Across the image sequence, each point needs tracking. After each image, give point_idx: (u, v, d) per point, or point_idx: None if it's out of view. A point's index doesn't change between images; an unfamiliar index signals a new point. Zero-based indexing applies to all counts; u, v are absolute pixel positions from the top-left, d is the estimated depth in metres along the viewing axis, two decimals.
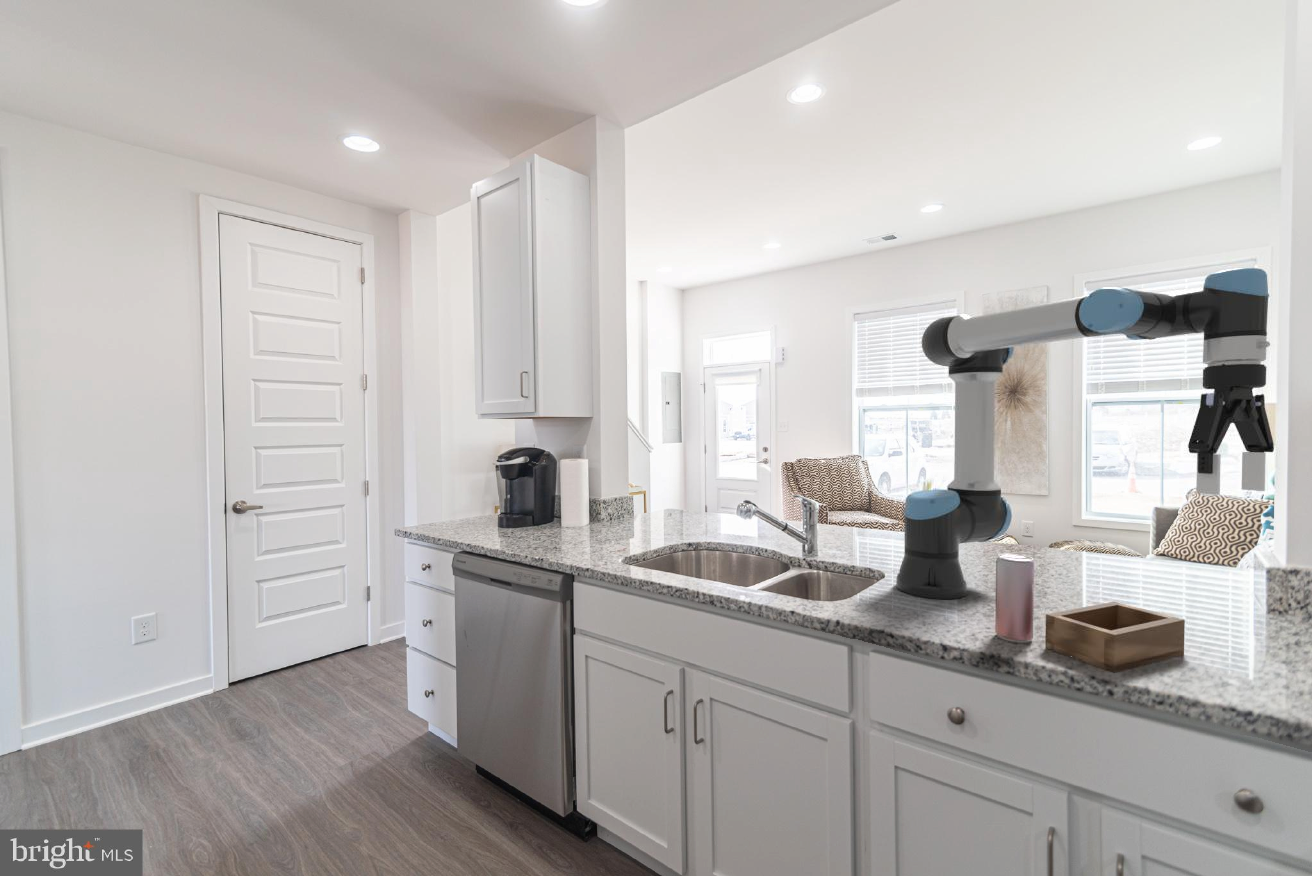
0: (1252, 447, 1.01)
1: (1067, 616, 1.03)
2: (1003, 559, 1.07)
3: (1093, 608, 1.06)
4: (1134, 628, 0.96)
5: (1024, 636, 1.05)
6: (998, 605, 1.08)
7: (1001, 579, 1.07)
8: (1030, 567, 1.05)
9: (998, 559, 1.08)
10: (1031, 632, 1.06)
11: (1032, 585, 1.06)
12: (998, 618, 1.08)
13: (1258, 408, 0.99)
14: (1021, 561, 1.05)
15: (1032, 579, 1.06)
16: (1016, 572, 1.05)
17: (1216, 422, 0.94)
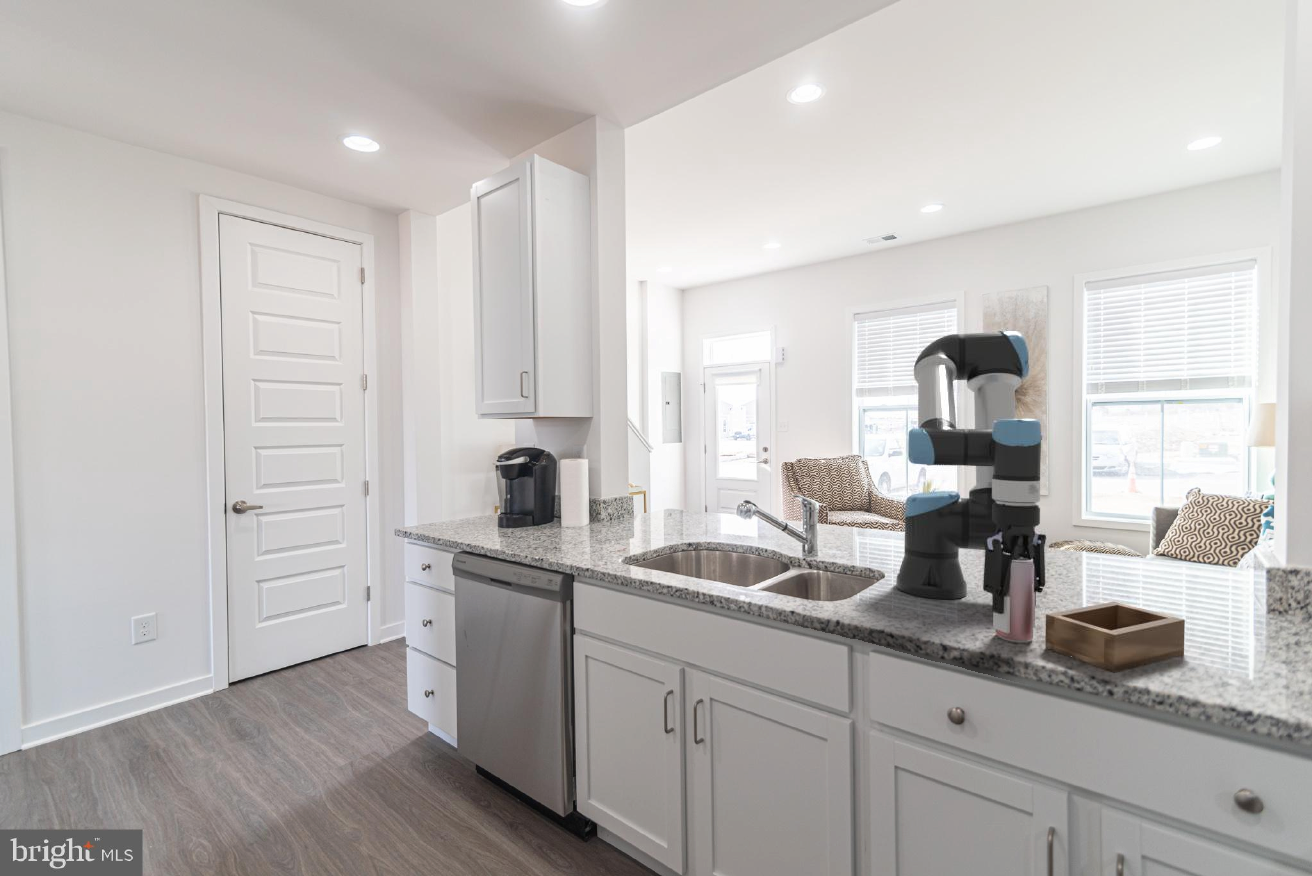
0: None
1: (1067, 616, 1.03)
2: None
3: (1093, 608, 1.06)
4: (1134, 628, 0.96)
5: (1024, 635, 1.05)
6: None
7: None
8: (1030, 567, 1.05)
9: None
10: (1031, 632, 1.06)
11: (1032, 585, 1.06)
12: None
13: (1038, 546, 1.09)
14: (1021, 561, 1.05)
15: (1032, 579, 1.06)
16: (1016, 572, 1.05)
17: (999, 567, 1.05)
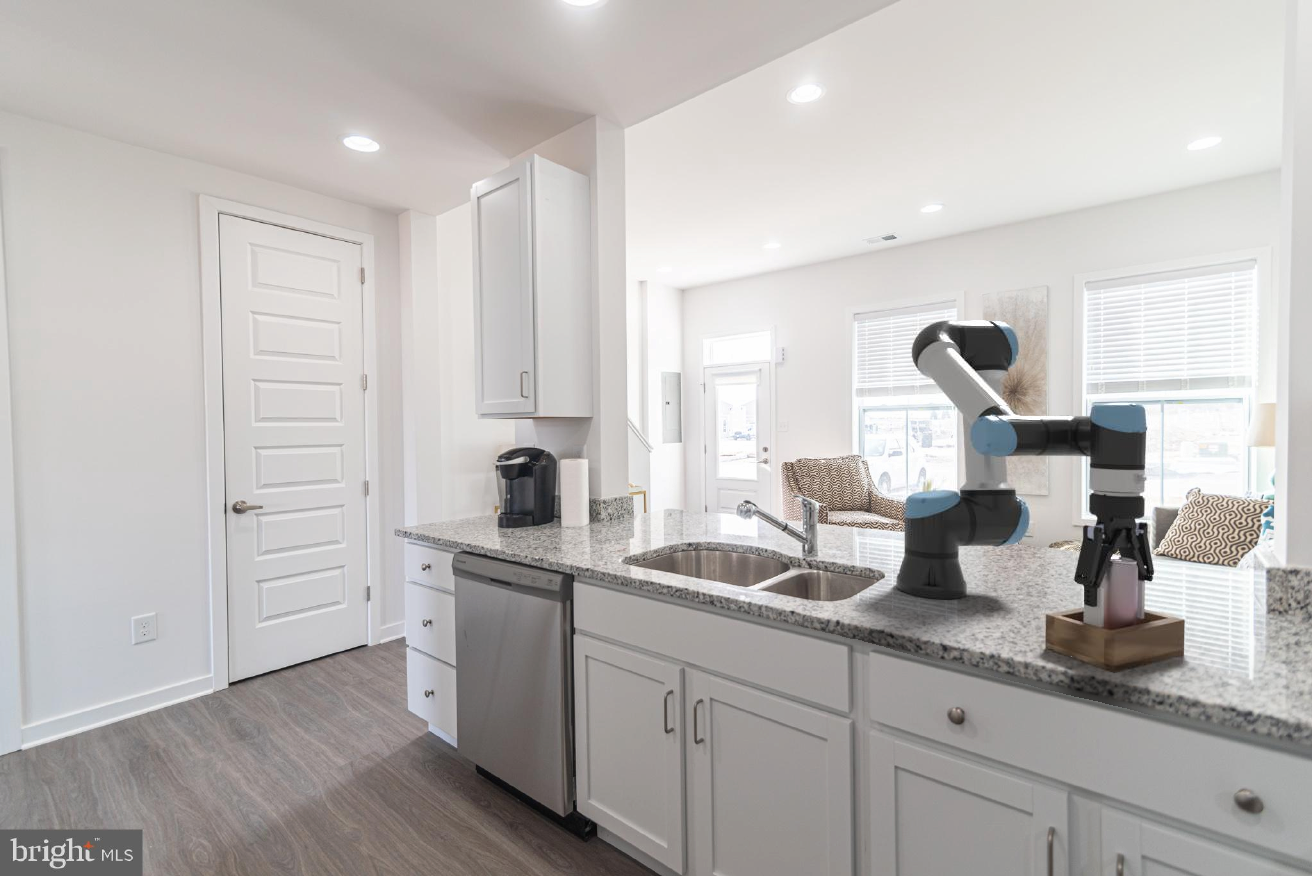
0: None
1: (1067, 616, 1.03)
2: None
3: None
4: (1134, 628, 0.96)
5: None
6: None
7: (1102, 582, 1.01)
8: (1135, 569, 0.99)
9: None
10: None
11: (1136, 589, 0.99)
12: None
13: (1141, 536, 1.03)
14: (1125, 563, 0.99)
15: (1136, 582, 0.99)
16: (1120, 575, 0.99)
17: (1097, 557, 0.98)
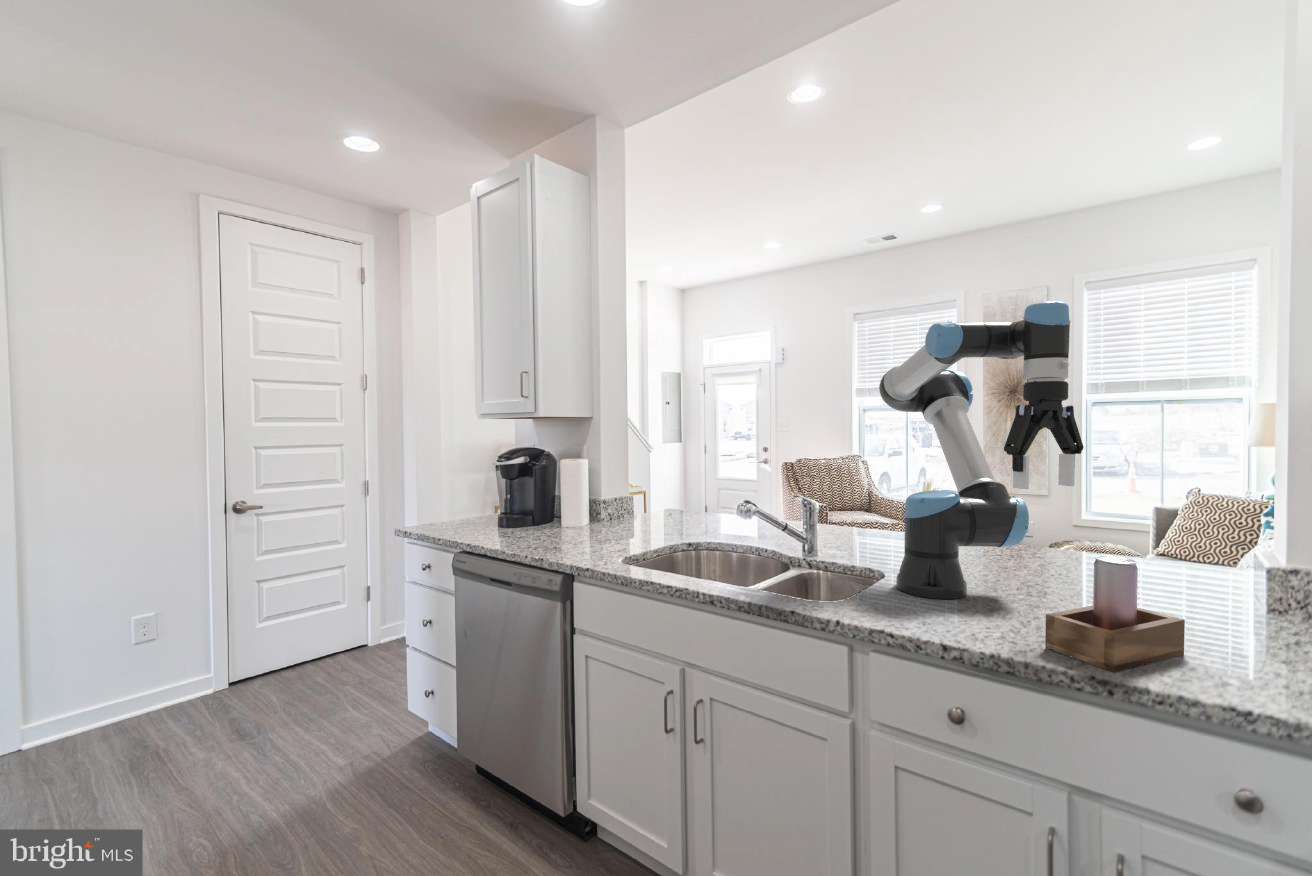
0: (1066, 449, 1.21)
1: (1067, 616, 1.03)
2: (1104, 561, 1.01)
3: None
4: (1134, 628, 0.96)
5: None
6: (1098, 610, 1.02)
7: (1101, 583, 1.01)
8: (1135, 570, 0.99)
9: (1097, 561, 1.02)
10: None
11: (1136, 589, 0.99)
12: (1098, 624, 1.02)
13: (1069, 417, 1.19)
14: (1125, 564, 0.99)
15: (1136, 583, 0.99)
16: (1120, 576, 0.99)
17: (1024, 429, 1.14)
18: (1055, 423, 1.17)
